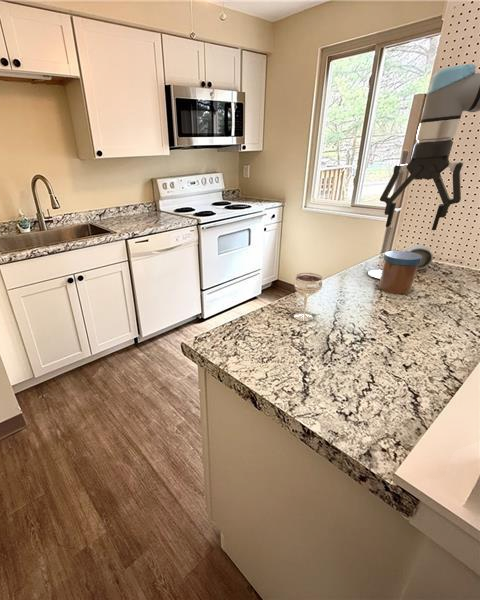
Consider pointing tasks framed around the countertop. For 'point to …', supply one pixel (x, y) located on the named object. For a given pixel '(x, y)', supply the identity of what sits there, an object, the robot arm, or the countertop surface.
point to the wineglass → (307, 290)
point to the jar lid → (402, 258)
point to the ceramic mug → (425, 253)
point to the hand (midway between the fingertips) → (410, 227)
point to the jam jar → (397, 278)
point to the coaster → (375, 274)
